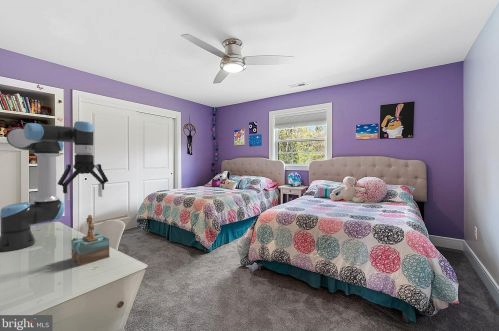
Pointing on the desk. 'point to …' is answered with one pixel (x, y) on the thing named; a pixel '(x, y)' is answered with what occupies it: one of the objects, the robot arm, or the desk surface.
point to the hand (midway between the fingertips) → (84, 198)
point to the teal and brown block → (90, 249)
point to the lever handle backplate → (90, 234)
